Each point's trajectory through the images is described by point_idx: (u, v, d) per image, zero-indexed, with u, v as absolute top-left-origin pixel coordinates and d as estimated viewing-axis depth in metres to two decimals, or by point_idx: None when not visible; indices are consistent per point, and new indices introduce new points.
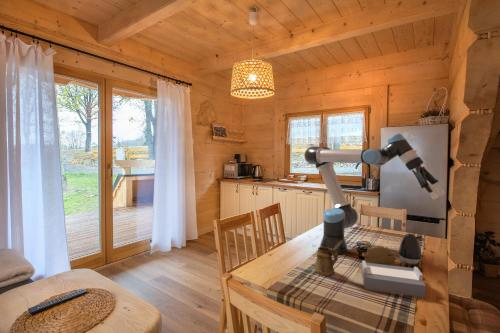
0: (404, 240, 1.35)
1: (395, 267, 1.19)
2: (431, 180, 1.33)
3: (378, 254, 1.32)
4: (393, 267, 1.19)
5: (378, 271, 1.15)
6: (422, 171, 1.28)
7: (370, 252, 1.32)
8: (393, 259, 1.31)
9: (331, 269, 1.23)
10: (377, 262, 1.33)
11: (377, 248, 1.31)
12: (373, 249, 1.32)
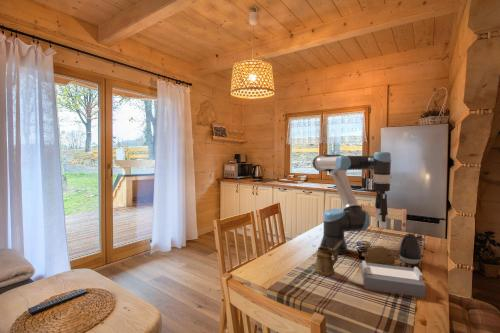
0: (404, 240, 1.35)
1: (395, 267, 1.19)
2: (379, 205, 1.38)
3: (378, 254, 1.32)
4: (393, 267, 1.19)
5: (378, 271, 1.15)
6: None
7: (370, 252, 1.32)
8: (393, 259, 1.31)
9: (331, 269, 1.23)
10: (377, 262, 1.33)
11: (377, 248, 1.32)
12: (373, 249, 1.32)
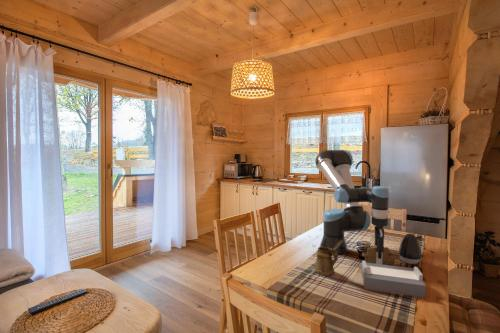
0: (404, 240, 1.35)
1: (395, 267, 1.19)
2: None
3: None
4: (393, 267, 1.19)
5: (378, 271, 1.15)
6: None
7: (370, 252, 1.32)
8: (393, 259, 1.31)
9: (331, 269, 1.23)
10: None
11: None
12: (373, 249, 1.32)
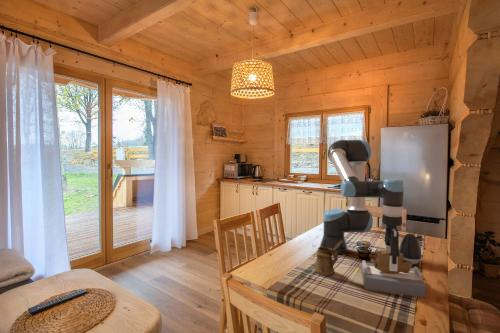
0: (404, 240, 1.35)
1: None
2: (389, 241, 1.18)
3: None
4: None
5: (378, 271, 1.15)
6: None
7: (381, 258, 1.12)
8: (408, 267, 1.11)
9: (331, 269, 1.23)
10: (389, 270, 1.12)
11: (389, 253, 1.11)
12: (384, 254, 1.12)
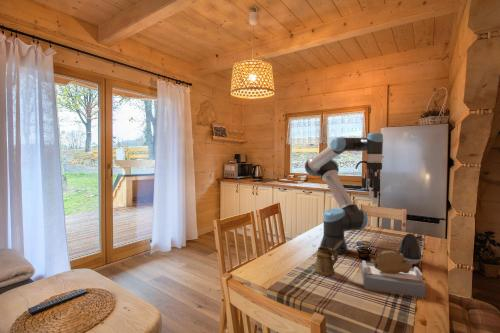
0: (404, 240, 1.35)
1: None
2: (372, 184, 1.46)
3: (390, 260, 1.12)
4: None
5: (378, 271, 1.15)
6: None
7: (381, 258, 1.12)
8: (408, 267, 1.11)
9: (331, 269, 1.23)
10: (389, 270, 1.12)
11: (389, 253, 1.11)
12: (384, 254, 1.12)
